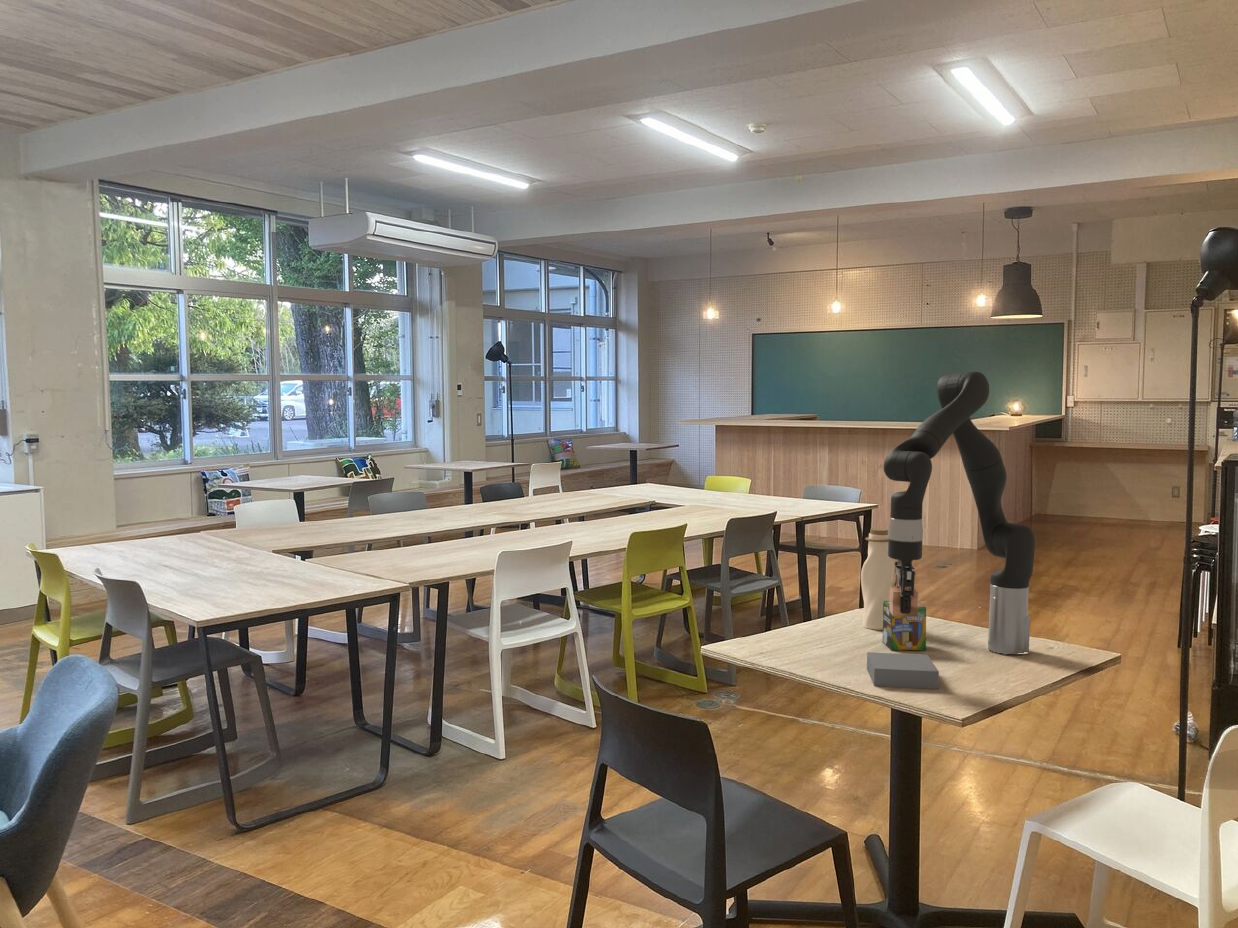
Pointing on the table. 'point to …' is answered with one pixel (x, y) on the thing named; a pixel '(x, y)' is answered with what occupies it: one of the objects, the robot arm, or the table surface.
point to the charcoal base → (902, 670)
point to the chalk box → (904, 630)
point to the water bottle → (876, 578)
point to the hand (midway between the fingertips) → (903, 609)
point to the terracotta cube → (895, 602)
